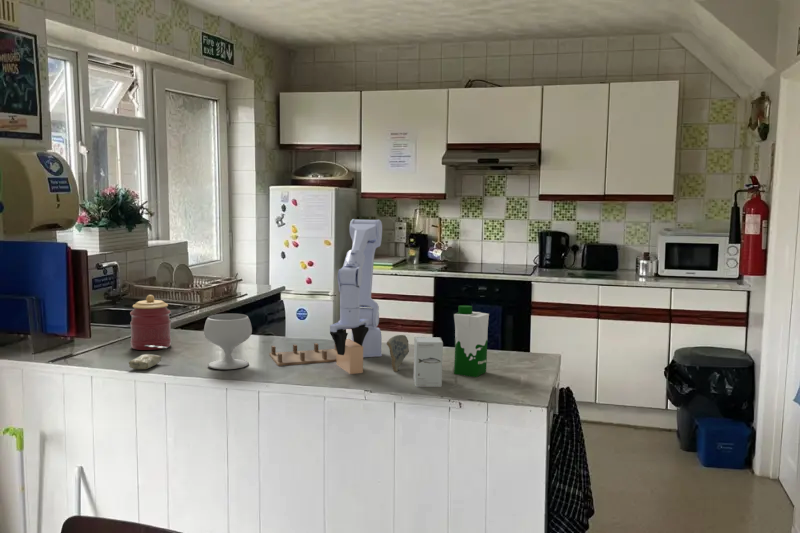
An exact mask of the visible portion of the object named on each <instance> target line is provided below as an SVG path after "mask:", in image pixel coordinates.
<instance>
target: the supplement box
mask: <svg viewBox="0 0 800 533" xmlns="http://www.w3.org/2000/svg"><path fill="white" fill-rule="evenodd" d="M413 346H414V347H413V350H414V351H413V383H414V386H415V387H416V388H417V387H418V388H420V387H421V388H422V387H423V388H424V387H433V388H434V387H435V388H436V387H440V388H441V387H442V386H443V385H442V384H443V354H444V353H443V352H444V351H443V349H444V342H443V340H442V337H441V336H440V337H437V336H436V337H434V336H433V337H431V336H429V337H427V336H426V337H425V336H415V337H414V343H413Z"/></svg>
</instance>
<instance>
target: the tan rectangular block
mask: <svg viewBox="0 0 800 533" xmlns="http://www.w3.org/2000/svg"><path fill="white" fill-rule="evenodd" d="M335 364H336V366H337V367H339V368H341V369H342V370H343V371H344V372H346V373H347V374H349V375H355V374H362V373H364V357H363V346H361V345H359V344H357V343H356V342H354V341H352V340H351V339H350V338H346V342H345V353H344V355H339V354H338V353H337V361H336V363H335Z"/></svg>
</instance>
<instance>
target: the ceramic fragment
mask: <svg viewBox="0 0 800 533" xmlns="http://www.w3.org/2000/svg"><path fill="white" fill-rule="evenodd" d="M386 345H387V347H388V349H389V354H390V358H391V368H392V370H393V372H395V373H396V372H397V373H398V371H399V369H400V366H402V365H403V362H404V360H405V358H406V357H407V356H408V354H409V352H410V347H409V340H408V337H407V336H406V335H405V334H397V335H394V336H392V337H390V338H388V340H387V341H386Z"/></svg>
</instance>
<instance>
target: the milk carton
mask: <svg viewBox="0 0 800 533" xmlns="http://www.w3.org/2000/svg"><path fill="white" fill-rule="evenodd" d="M457 308H458V309H457V310H458V312H456V313H453V320H454V330H455V331H454V332H455V333H454V336H455V338H454V362H453V363H454V364H453V365H454V366H453V375H459V376H464V375H465V376H464V377H471V378H478V377H479V376H482V375H484V374H485V372H486V373H487V363H488V361H487V358H488V331H489V330H488V327H489V316H490V313H486V312H481V311H473V306H472V305H469V304H467V305H466V304H463V305H461V304H460V305H458V307H457ZM483 373H484V374H483ZM481 374H482V375H481Z"/></svg>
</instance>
